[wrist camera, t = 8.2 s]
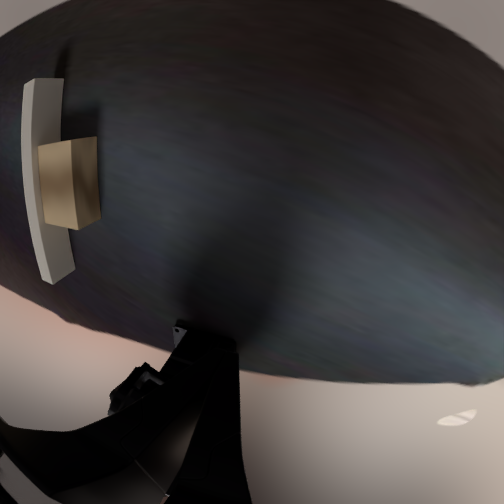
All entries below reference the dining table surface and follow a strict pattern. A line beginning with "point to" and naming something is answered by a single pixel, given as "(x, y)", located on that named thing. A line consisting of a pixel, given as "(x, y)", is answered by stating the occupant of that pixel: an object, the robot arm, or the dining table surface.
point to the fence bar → (33, 135)
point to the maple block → (69, 182)
